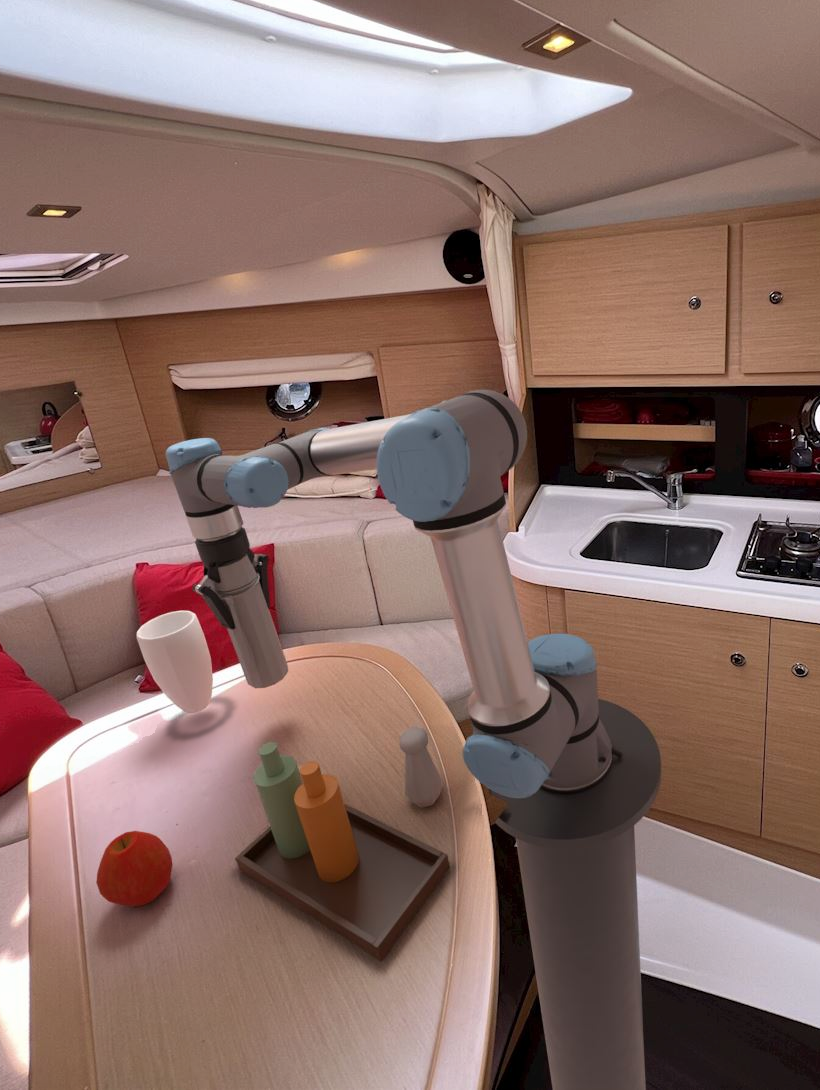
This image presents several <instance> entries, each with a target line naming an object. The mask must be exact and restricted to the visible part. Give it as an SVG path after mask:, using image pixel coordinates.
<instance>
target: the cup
mask: <svg viewBox="0 0 820 1090" xmlns="http://www.w3.org/2000/svg"><path fill="white" fill-rule="evenodd" d="M136 641H137V643H138V646H139V648H140V652H141V655H142V657H143V661H144V662H145V664H146V666H147V669H148V671H149V673H150V675H151V676H152V679H153V680H154V682H155V683H156V685H157V686H158V687H159V689H160V690H161V692H163V694H164V695H165V696H166V698H167V699H168V700H170V701H171V702H172V703H173V704H174V705H175V706H176V707H177V708H179V709H180V710H182V711H183V712H184V713H186V714H196V713H198V712H201V711H203V710H204V709H206V708H207V707H208V706H210V703H211V700H212V695H213V685H214V684H213V683H214V677H213V666H212V658H211V657H212V656H211V654H210V649H209V647H208V643H207V640H206V636H205V633H204V631H203V628H202V626H201V623H200V621H199V618H198V617H197V614H196V613H194V612H192V611H190V610H176V611H170V612H167V613H164V614H161V615H158V616H156V617H154V618H152V619H150V620H148V621H147V622H145V623H144V624H142V625H141V626H140V627H139V628H138V630H137V631H136Z"/></svg>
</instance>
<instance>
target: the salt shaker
mask: <svg viewBox="0 0 820 1090" xmlns="http://www.w3.org/2000/svg"><path fill="white" fill-rule="evenodd" d="M398 739H399V740H398V742H399V745H398V746H399V749H400V750H401V751H402V752H403V753H404V795H405V797H406V798H407V799H408V800H409V802H411V803H412V804H414V805H415V806H416V807H418V808H419V809H423V808H426V807H432V806H433V805H434V804H435V802H436V801H437V800H438V798H439V797H440V795H441V791H442V787H443V782H442V776H441V774H440V772H439V770H438V768H437V767H436V764H435V762H434V760H433V758H432V756H431V754H430V751H429V750H428V745H429V735H428V732H427V730H426V729H425V728H424V727H421V726H416V725H415V726H410V727H408V728H406V729H405V730H404V731H402V732H401V734H400V735H399V737H398Z"/></svg>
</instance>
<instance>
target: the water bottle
mask: <svg viewBox="0 0 820 1090" xmlns="http://www.w3.org/2000/svg"><path fill="white" fill-rule="evenodd" d="M218 571H219V575H220V579H221V582H220V583H217V582H215V581H213V580H212V582H211V583H212V585H213V587H214V590H213V591H214V592H215V593H216V594H217V595H218V596H219V598H220V600H221V601H222V603H223V604H224V606H225V607H226V609H227V610H228V612H229V613H230V615H231V616H232V618H233V620H234V623H235V626H236V628H235V629H233V630H232V629H229V628H226V630H227V632H228V635H229V638H230V641H231V643H232V644H233V648H234V651H235V653H236V657H237V659H238V662H239V665H240V667H241V669H242V673H243V675H244V678H245V681H246V683H247V685H249V686H250V687H252V688H254V689H266V688H268V687H272V686H274V685H276V684H278V683H279V682H281V681H282V680H283V679H284V678H285V677H286V676H287V674H288V673H289V665H288V662H287V658H286V656H285V653H284V650H283V646H282V644H281V642H280V638H279V635H278V632H277V629H276V626H275V624H274V621H273V617H272V615H271V612H270V608H269V609H268V607H267V604H266V601H265V598H264V595H263V592H262V588H261V585H260V582H259V579H260V576H259V574H258V573H257V572H256V571H255V569H254V567H253V565H252V564H251V562H250V560H249V558H248V556H247V554H244V555H242V556H240V557H238V558H236V559H234V560H232V561H230V562H228V563H226V564H224V565H222V566H220V567H218Z"/></svg>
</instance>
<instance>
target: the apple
mask: <svg viewBox="0 0 820 1090" xmlns="http://www.w3.org/2000/svg"><path fill="white" fill-rule="evenodd" d="M172 869H173V859H172V854H171V851H170V850H169V848H168V846H166V844H165V843H164V842H163V840H162V839H161V838H160V837H158V836H157V835H155V834H153V833H149V832H145V831H138V830H132V831H126V832H124V833H122V834H120V835H118V836H117V837H115V838H114V839H112V840H111V841H110V842H109V844H108V845H107V846H106V848H105V849H104V852H103V854H102V857H101V859H100V861H99V865H98V869H97V874H96V881H95V882H96V886H97V889H98V892H99V894H100V896H102V897H103V898H104V899H105V900H106V901H107V902H109V903H112V904H116V905H118V906H119V905H120V906H125V907H138V906H139V907H140V906H143V905H147V904H148V903H151V902H152V901H154V900H155V899H156V898H157V897H159V896H160V895H161V894H162V893H163V891H164V890H165V889H166V888H167V887H168V885H169V883H170V881H171V876H172V871H173V870H172Z"/></svg>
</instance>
